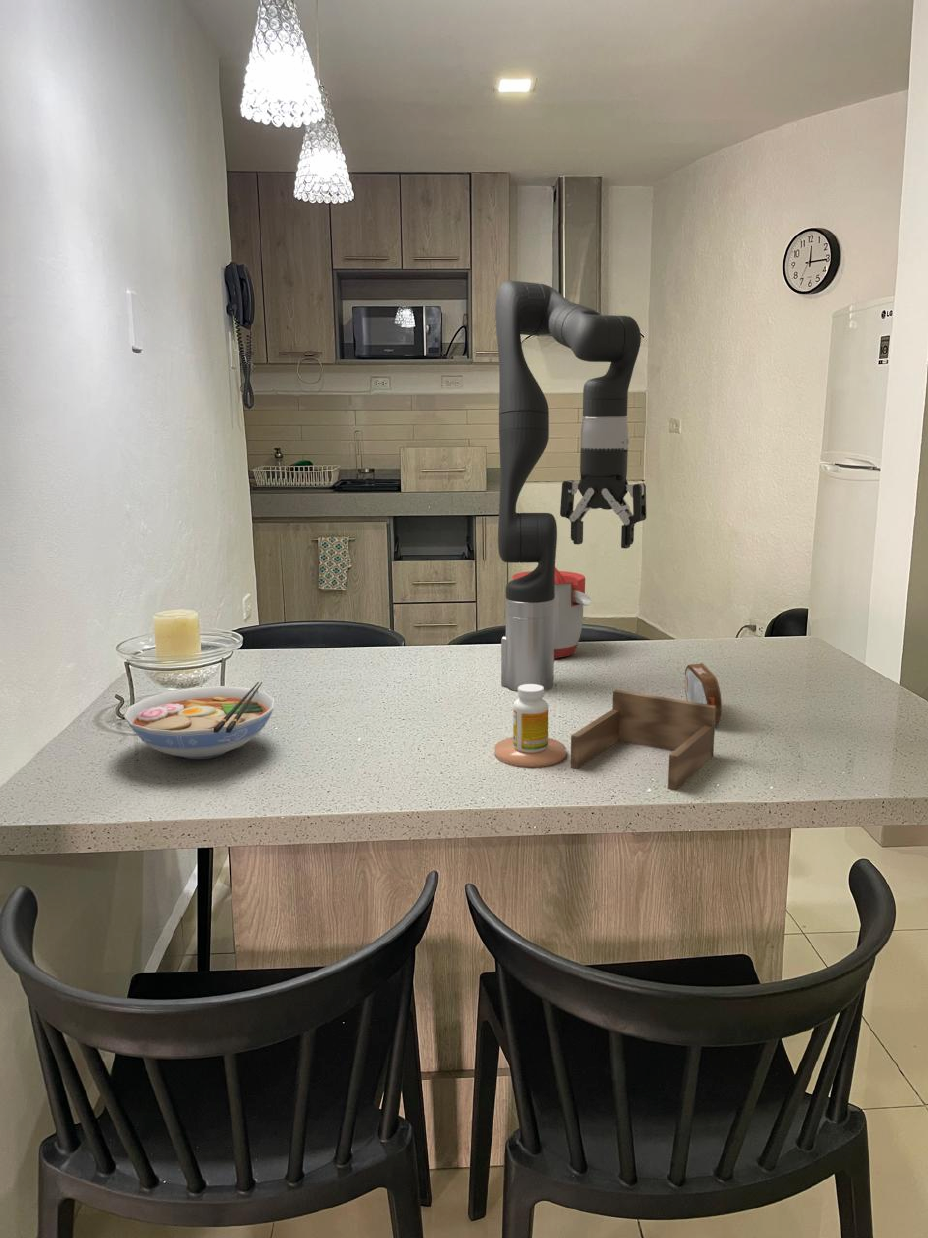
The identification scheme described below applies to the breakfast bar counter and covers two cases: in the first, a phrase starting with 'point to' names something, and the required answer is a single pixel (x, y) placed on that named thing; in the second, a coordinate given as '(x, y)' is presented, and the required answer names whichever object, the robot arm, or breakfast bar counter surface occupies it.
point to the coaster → (529, 754)
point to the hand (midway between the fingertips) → (601, 545)
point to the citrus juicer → (567, 610)
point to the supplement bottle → (530, 719)
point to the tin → (703, 687)
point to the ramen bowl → (200, 719)
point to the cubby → (652, 732)
